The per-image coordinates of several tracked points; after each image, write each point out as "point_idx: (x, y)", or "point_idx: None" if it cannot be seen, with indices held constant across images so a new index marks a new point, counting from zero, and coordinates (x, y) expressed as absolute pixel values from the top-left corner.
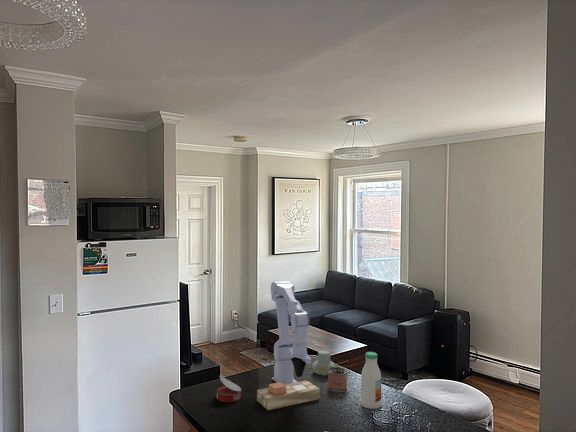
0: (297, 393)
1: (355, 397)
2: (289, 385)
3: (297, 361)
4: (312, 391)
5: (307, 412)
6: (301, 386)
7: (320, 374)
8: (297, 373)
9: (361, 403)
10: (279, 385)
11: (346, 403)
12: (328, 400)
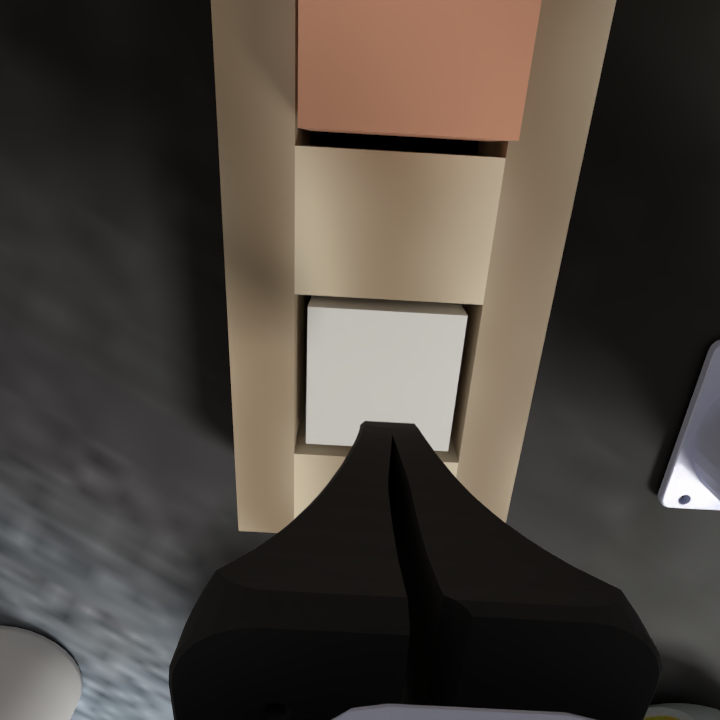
0: (224, 260)
1: (168, 666)
2: (497, 312)
3: (181, 638)
4: (239, 447)
5: (33, 215)
6: (391, 416)
7: None
8: (354, 444)
9: (14, 639)
10: (389, 32)
11: (98, 574)
12: (200, 505)
